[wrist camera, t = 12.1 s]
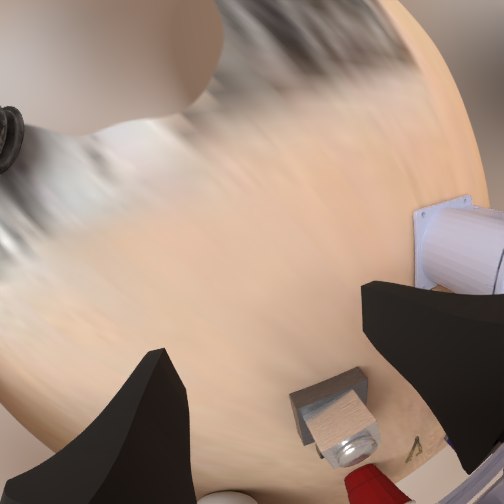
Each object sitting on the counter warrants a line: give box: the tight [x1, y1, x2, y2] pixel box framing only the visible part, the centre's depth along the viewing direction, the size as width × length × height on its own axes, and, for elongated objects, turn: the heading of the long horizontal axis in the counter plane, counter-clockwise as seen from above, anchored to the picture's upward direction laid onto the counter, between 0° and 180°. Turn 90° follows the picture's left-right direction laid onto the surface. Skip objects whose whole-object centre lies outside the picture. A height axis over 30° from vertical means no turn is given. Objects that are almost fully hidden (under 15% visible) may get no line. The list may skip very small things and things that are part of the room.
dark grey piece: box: [289, 367, 368, 459], centre depth 22 cm, size 7×13×5 cm, turn 13°
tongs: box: [406, 436, 422, 463], centre depth 35 cm, size 4×13×2 cm, turn 29°
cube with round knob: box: [303, 388, 381, 469], centre depth 19 cm, size 5×5×6 cm
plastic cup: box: [344, 464, 416, 504], centre depth 26 cm, size 11×11×12 cm
